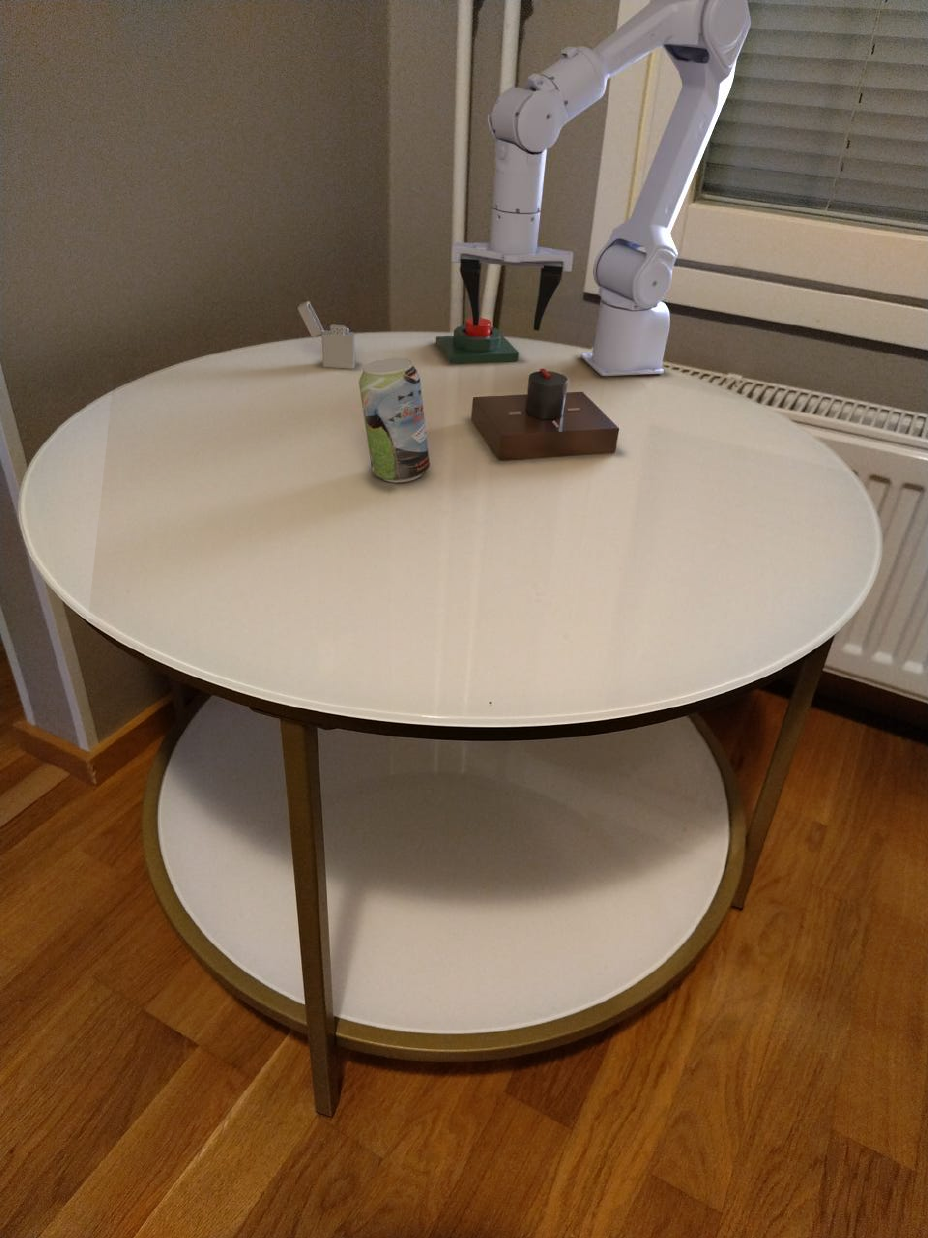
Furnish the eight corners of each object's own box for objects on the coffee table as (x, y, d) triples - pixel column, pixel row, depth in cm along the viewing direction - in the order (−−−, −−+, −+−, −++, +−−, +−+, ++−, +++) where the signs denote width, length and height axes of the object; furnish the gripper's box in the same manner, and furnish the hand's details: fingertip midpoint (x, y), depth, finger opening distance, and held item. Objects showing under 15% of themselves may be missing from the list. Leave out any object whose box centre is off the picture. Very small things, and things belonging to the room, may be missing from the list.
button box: (500, 342, 127) (502, 321, 125) (518, 361, 121) (520, 339, 119) (435, 344, 124) (436, 323, 123) (449, 363, 118) (450, 342, 117)
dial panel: (579, 414, 107) (582, 389, 105) (615, 452, 98) (619, 426, 96) (470, 420, 103) (472, 395, 101) (498, 460, 95) (501, 434, 93)
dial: (569, 418, 98) (574, 381, 95) (532, 420, 97) (537, 383, 94) (555, 403, 101) (559, 367, 99) (520, 405, 100) (523, 368, 97)
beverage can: (421, 493, 87) (425, 378, 80) (352, 483, 88) (349, 368, 81) (435, 467, 92) (440, 357, 85) (369, 457, 93) (369, 347, 86)
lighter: (355, 364, 116) (354, 303, 111) (353, 368, 114) (352, 307, 110) (302, 360, 116) (299, 299, 111) (300, 364, 115) (297, 303, 110)
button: (485, 329, 123) (486, 317, 122) (493, 337, 120) (494, 325, 119) (461, 330, 122) (462, 317, 121) (468, 338, 119) (469, 325, 118)
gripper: (452, 210, 98) (446, 330, 106) (579, 220, 97) (564, 340, 105) (456, 198, 103) (451, 313, 111) (577, 208, 103) (562, 322, 111)
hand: (506, 325), depth 109 cm, fingers open, 7 cm apart
